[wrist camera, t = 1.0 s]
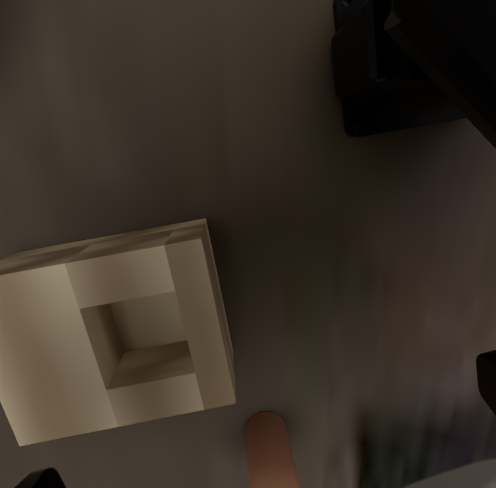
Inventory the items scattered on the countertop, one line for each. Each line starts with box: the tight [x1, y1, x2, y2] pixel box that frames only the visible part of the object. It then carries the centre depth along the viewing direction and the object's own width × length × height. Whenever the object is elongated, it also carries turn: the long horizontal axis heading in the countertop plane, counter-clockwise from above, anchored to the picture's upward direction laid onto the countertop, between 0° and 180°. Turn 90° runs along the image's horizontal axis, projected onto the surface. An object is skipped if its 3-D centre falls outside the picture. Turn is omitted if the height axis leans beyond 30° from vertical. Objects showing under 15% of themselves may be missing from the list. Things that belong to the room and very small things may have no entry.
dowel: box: [245, 412, 300, 488], centre depth 18 cm, size 3×3×8 cm
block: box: [0, 218, 236, 446], centre depth 17 cm, size 10×8×4 cm
